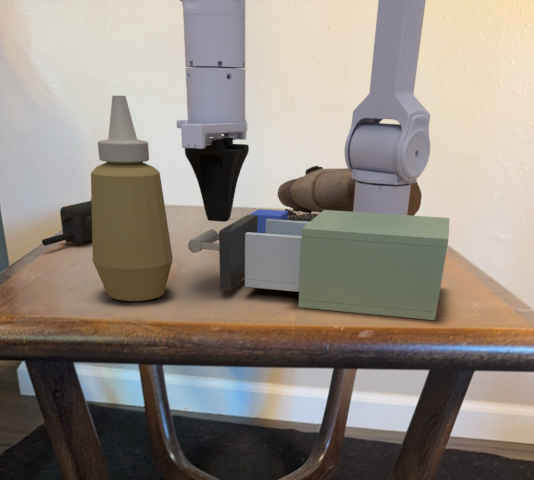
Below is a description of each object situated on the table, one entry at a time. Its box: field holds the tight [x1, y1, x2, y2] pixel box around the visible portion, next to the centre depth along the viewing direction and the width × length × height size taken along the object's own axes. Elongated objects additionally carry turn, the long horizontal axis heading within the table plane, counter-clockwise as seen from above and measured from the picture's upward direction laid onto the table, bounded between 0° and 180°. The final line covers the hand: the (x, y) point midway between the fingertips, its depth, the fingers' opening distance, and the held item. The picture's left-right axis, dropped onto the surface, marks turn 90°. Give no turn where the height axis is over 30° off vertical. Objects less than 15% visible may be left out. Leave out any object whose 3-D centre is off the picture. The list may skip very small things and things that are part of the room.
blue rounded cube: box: [249, 208, 288, 233], centre depth 87 cm, size 4×4×4 cm
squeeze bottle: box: [90, 95, 174, 302], centre depth 61 cm, size 8×8×18 cm
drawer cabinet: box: [298, 210, 450, 321], centre depth 65 cm, size 14×12×8 cm
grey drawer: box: [187, 214, 309, 293], centre depth 67 cm, size 17×10×6 cm, turn 76°
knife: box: [284, 208, 298, 215], centre depth 104 cm, size 15×1×2 cm
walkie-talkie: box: [41, 200, 92, 247], centre depth 86 cm, size 5×3×15 cm
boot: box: [277, 165, 422, 216], centre depth 106 cm, size 8×24×17 cm
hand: (218, 220), depth 67 cm, fingers closed
